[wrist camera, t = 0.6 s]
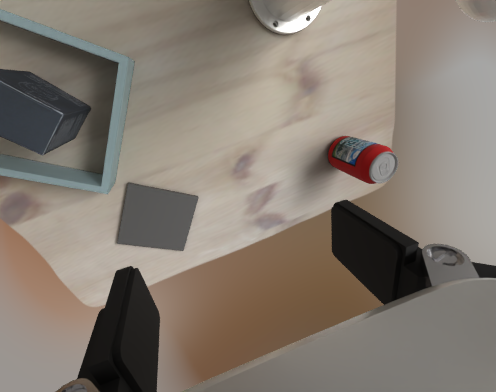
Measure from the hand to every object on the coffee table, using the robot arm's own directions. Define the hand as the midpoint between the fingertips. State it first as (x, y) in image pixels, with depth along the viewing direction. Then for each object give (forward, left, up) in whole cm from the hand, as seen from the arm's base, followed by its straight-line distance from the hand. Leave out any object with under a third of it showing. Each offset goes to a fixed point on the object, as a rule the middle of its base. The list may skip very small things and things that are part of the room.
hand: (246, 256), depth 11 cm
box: (+2, -19, -34) cm, 39 cm away
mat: (+17, -2, -34) cm, 37 cm away
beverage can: (-5, +30, -34) cm, 45 cm away
